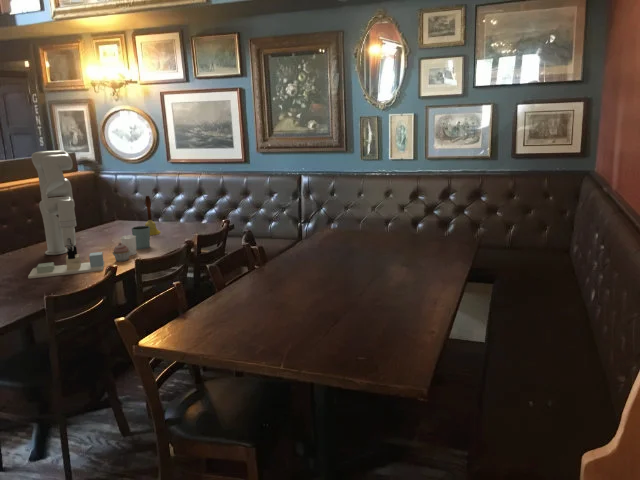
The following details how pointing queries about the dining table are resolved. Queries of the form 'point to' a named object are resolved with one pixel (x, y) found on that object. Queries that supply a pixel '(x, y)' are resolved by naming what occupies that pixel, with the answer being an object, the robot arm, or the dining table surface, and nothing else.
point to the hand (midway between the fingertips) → (72, 256)
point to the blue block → (96, 259)
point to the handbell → (150, 223)
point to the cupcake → (121, 252)
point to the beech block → (73, 262)
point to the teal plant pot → (142, 236)
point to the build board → (60, 270)
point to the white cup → (130, 243)
